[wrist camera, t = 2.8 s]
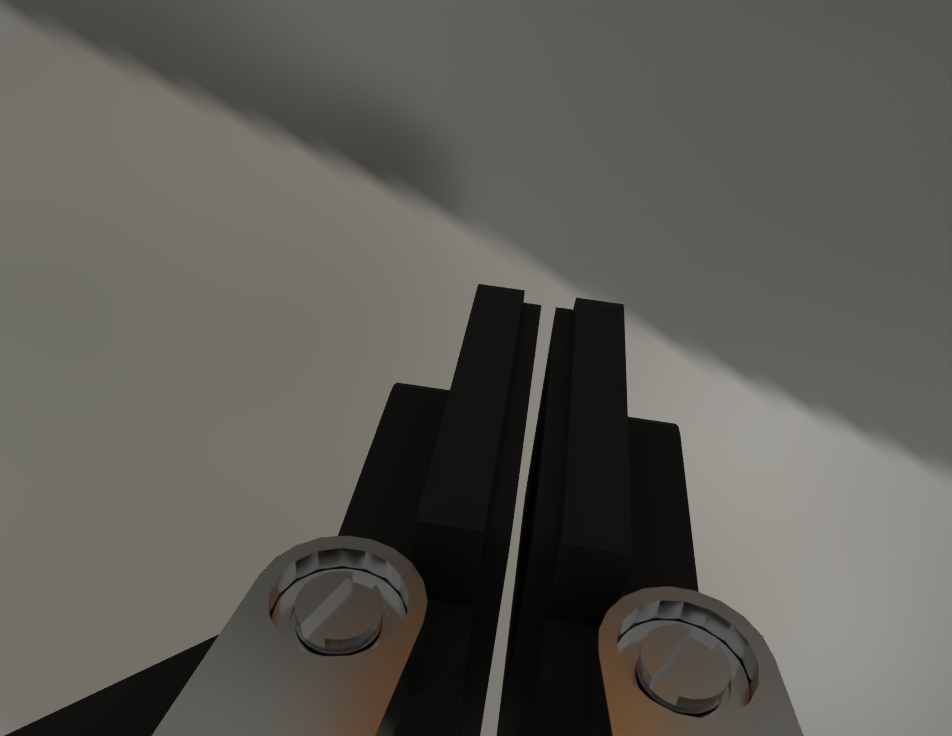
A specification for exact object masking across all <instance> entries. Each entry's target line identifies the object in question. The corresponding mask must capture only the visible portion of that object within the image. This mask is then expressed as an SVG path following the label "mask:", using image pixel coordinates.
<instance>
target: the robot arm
mask: <svg viewBox="0 0 952 736" xmlns="http://www.w3.org/2000/svg"><path fill="white" fill-rule="evenodd" d="M524 292H525V291H524V290H518V289H511V288H504V287H496V286H489V285H482V284H478V287H477V291H476V295H475V298H474V302H473V306H472V310H471V313H470V317H469V321H468V325H467V329H466V332H465V336H464V340H463V344H462V347H461V351H460V355H459V359H458V362H457V366H456V370H455V374H454V377H453V381H452V385H451V389H450V390H444V389H437V388H429V387H423V386H417V385H410V384H402V383H396V384H394V386H393V388H392V390H391V392H390V395H389V398H388V401H387V403H386V406H385V409H384V412H383V414H382V417H381V420H380V423H379V425H378V428H377V431H376V434H375V436H374V439H373V441H372V444H371V447H370V450H369V452H368V455H367V458H366V461H365V464H364V467H363V469H362V472H361V474H360V477H359V480H358V483H357V485H356V488H355V491H354V493H353V496H352V499H351V502H350V504H349V507H348V510H347V513H346V515H345V518H344V521H343V523H342V526H341V529H340V532H339V535H338V536H335V537H321V538H318V539H315V540H311V541H308V542H305V543H302V544H298V545H296V546H294V547H292V548H291V549H289V550H288V551H286V552H284V553H283V554H281V555H279V556H278V557H276V558H275V559H274V560H273V561H272V562H271V563H270V564H269V565H268V566H267V567H266V569H264V571H263V572H262V573H261V574H260V575H259V576H258V577H257V579H256V580H255V582H254V583H253V585H252V586H251V588H250V589H249V591H248V593H247V594H246V596H245V597H244V598H243V600H242V601H241V603H240V604H239V606H238V607H237V609H236V611H235V612H234V613H233V615H232V617H231V618H230V619H229V621H228V623H227V624H226V625H225V627H224V628H223V630H222V631H221V633H220V634H219V635H217V636H215V637H212V638H210V639H208V640H206V641H204V642H202V643H200V644H198V645H196V646H194V647H191V648H189V649H187V650H185V651H183V652H181V653H179V654H177V655H174V656H172V657H170V658H168V659H166V660H164V661H162V662H160V663H158V664H155V665H153V666H151V667H149V668H147V669H145V670H143V671H141V672H138V673H136V674H134V675H132V676H130V677H128V678H126V679H124V680H122V681H119V682H117V683H115V684H113V685H111V686H109V687H107V688H105V689H103V690H100V691H98V692H96V693H94V694H92V695H90V696H88V697H86V698H84V699H81V700H79V701H77V702H75V703H73V704H71V705H69V706H67V707H64V708H62V709H60V710H58V711H56V712H54V713H52V714H50V715H48V716H45V717H43V718H41V719H39V720H37V721H35V722H33V723H31V724H29V725H27V726H24V727H22V728H20V729H18V730H16V731H14V732H12V733H9V734H7V735H5V736H480V732H481V726H482V719H483V713H484V707H485V701H486V694H487V688H488V681H489V675H490V669H491V662H492V656H493V650H494V643H495V637H496V630H497V623H498V618H499V611H500V605H501V599H502V592H503V586H504V580H505V573H506V567H507V560H508V554H509V547H510V540H511V533H512V526H513V519H514V511H515V504H516V496H517V488H518V481H519V473H520V465H521V457H522V450H523V442H524V434H525V427H526V419H527V412H528V403H529V396H530V388H531V381H532V373H533V365H534V358H535V350H536V342H537V335H538V326H539V319H540V311H541V305H535V304H529V303H523V299H524ZM497 736H803V734H802V731H801V728H800V726H799V723H798V720H797V717H796V715H795V712H794V709H793V707H792V704H791V701H790V698H789V696H788V693H787V690H786V687H785V685H784V682H783V679H782V677H781V674H780V671H779V669H778V666H777V663H776V661H775V658H774V656H773V654H772V653H771V651H770V649H769V647H768V646H767V644H766V642H765V640H764V638H763V636H762V635H760V633H759V632H758V631H757V630H756V629H755V628H754V627H753V626H752V625H751V624H750V623H749V622H748V620H747V619H746V618H744V616H742V615H741V614H739V613H738V612H736V611H735V610H733V609H732V608H730V607H729V606H727V605H726V604H724V603H723V602H721V601H719V600H717V599H714V598H712V597H709V596H707V595H704V594H702V593H699V592H698V584H697V575H696V567H695V558H694V550H693V540H692V532H691V523H690V515H689V506H688V498H687V489H686V480H685V471H684V463H683V455H682V446H681V437H680V432H679V427H678V426H677V425H676V424H673V423H667V422H660V421H653V420H646V419H640V418H633V417H628V414H627V384H626V356H625V325H624V305H623V304H617V303H610V302H603V301H596V300H589V299H582V298H576V301H575V304H574V310H571V309H564V308H557V307H556V311H555V316H554V322H553V328H552V334H551V340H550V346H549V353H548V359H547V365H546V371H545V378H544V383H543V389H542V395H541V401H540V408H539V414H538V420H537V426H536V432H535V438H534V445H533V450H532V457H531V463H530V469H529V475H528V481H527V487H526V494H525V501H524V509H523V517H522V525H521V534H520V543H519V551H518V559H517V568H516V576H515V585H514V593H513V602H512V611H511V619H510V627H509V636H508V644H507V653H506V661H505V670H504V679H503V687H502V696H501V704H500V712H499V720H498V729H497Z"/></svg>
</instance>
